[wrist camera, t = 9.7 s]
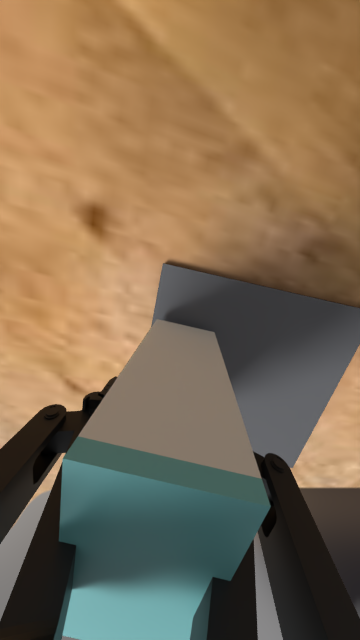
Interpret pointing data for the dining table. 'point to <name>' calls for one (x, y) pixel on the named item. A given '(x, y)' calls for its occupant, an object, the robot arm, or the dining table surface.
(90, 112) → the dining table surface
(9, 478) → the robot arm
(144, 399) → the grey teal block
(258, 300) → the rubber mat
